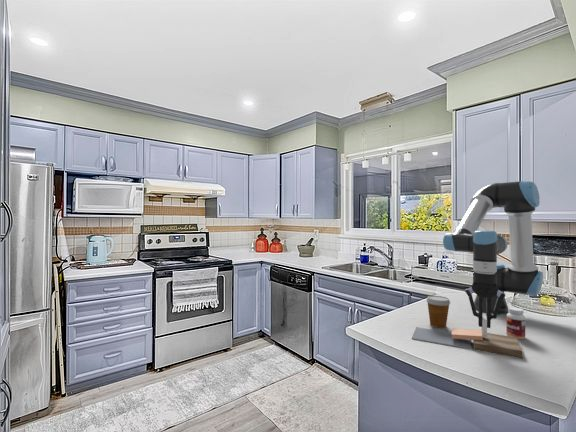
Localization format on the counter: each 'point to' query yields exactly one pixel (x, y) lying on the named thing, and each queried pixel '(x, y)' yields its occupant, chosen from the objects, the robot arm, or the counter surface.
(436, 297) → the disposable coffee cup
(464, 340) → the mat
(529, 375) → the counter surface
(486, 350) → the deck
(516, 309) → the pill bottle
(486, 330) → the robot arm
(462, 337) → the card
